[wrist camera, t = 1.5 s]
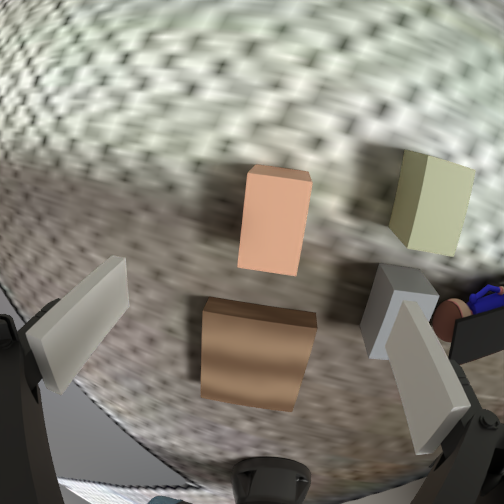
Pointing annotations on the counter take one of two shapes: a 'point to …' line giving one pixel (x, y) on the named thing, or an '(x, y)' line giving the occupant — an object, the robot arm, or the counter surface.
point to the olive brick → (431, 203)
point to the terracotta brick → (274, 219)
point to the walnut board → (254, 353)
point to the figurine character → (472, 325)
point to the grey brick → (393, 304)
